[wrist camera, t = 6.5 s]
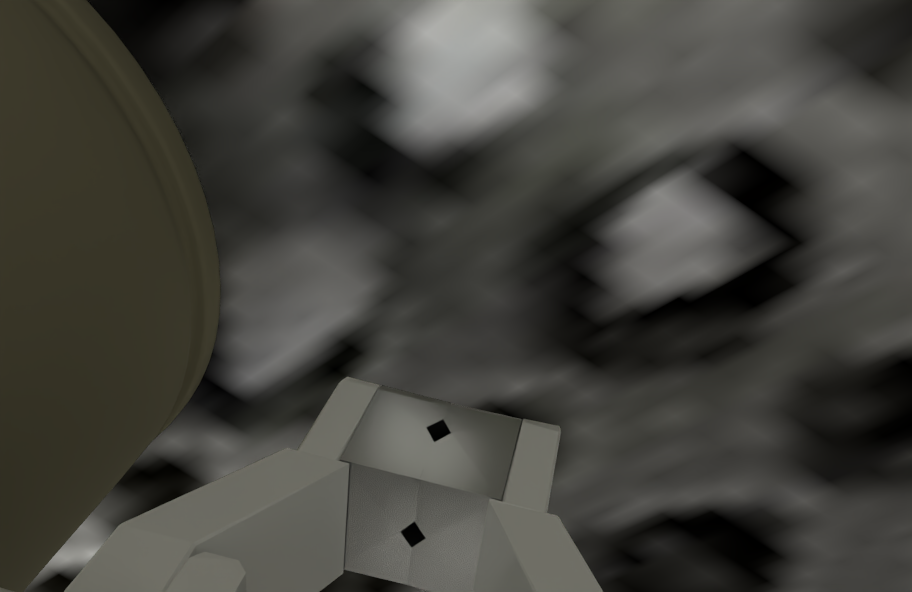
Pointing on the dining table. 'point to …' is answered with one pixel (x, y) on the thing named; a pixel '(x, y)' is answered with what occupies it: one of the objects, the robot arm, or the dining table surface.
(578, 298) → the dining table surface
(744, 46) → the dining table surface
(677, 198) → the dining table surface
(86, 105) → the can
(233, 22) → the dining table surface
